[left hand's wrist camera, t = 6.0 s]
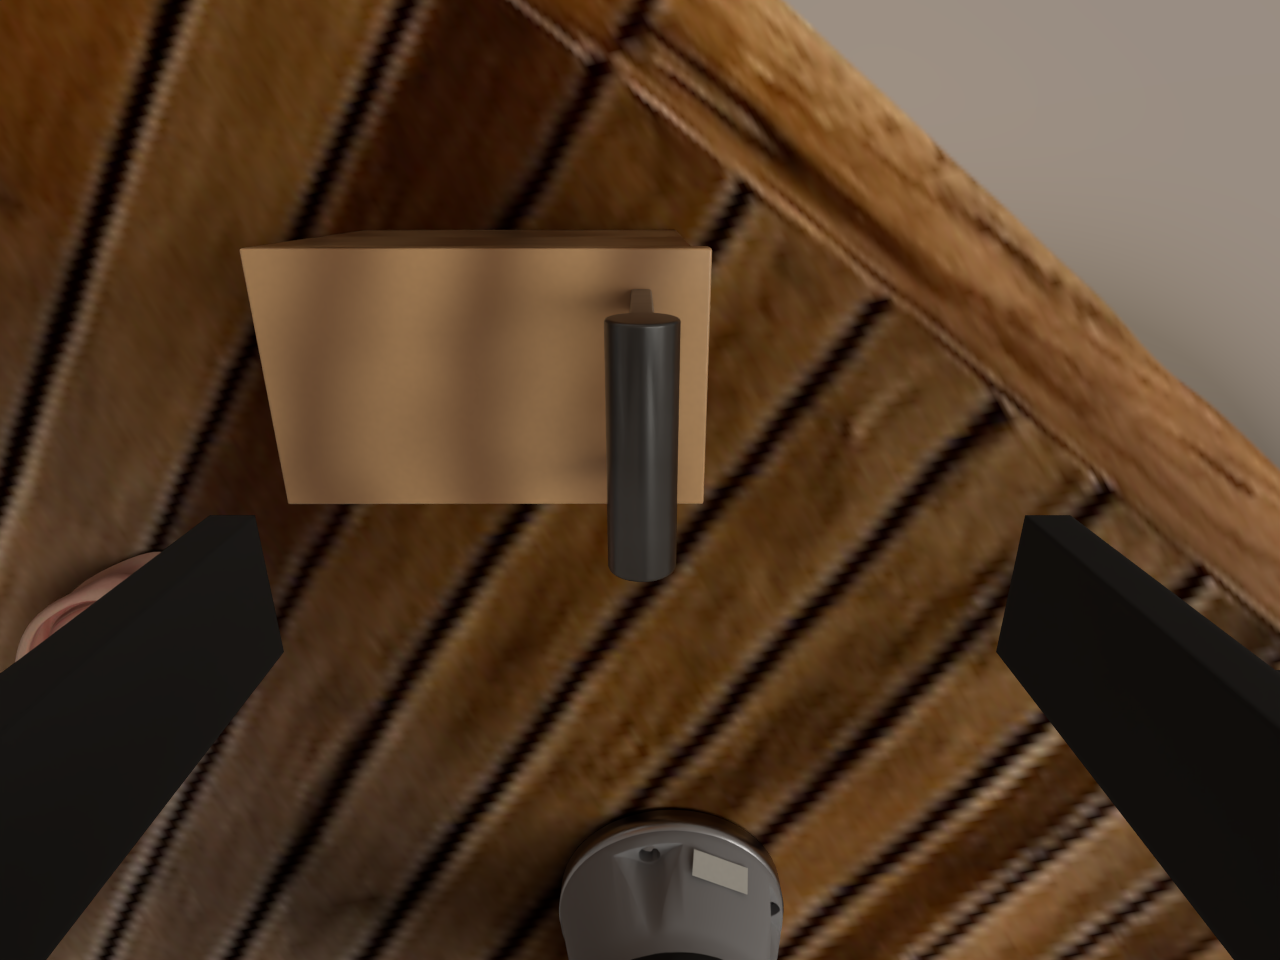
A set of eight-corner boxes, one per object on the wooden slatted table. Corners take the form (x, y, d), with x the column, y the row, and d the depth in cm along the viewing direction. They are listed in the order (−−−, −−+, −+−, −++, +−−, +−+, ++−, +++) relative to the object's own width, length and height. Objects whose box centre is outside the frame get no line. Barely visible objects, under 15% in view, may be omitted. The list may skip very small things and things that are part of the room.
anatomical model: (230, 593, 38) (255, 767, 42) (267, 557, 42) (286, 720, 46) (-32, 575, 38) (20, 752, 42) (28, 541, 41) (70, 706, 45)
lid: (710, 246, 25) (744, 273, 17) (701, 494, 28) (727, 620, 20) (252, 246, 25) (60, 274, 17) (298, 495, 28) (158, 620, 20)
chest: (676, 229, 35) (691, 245, 25) (673, 413, 39) (685, 494, 28) (365, 230, 35) (252, 246, 25) (389, 413, 39) (298, 494, 28)
